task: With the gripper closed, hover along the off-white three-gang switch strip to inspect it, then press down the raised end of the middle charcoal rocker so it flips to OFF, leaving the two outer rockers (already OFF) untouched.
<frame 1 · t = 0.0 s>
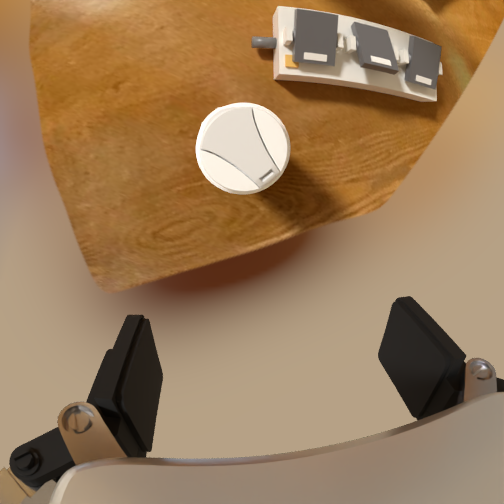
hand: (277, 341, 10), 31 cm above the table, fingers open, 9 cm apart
rocker mid: (374, 47, 27), point 6 cm above the table, hinge at -18.0°
strip: (355, 57, 33), on the table
rocker 1: (314, 37, 27), point 6 cm above the table, hinge at 18.0°, touching strip
rocker 2: (423, 62, 28), point 6 cm above the table, hinge at 18.0°
coffee cup: (236, 144, 37), on the table
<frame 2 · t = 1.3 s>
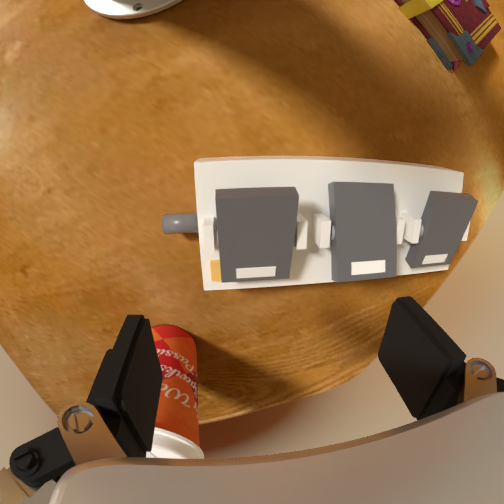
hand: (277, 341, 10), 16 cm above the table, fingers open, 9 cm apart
rocker mid: (363, 231, 21), point 6 cm above the table, hinge at -18.0°
strip: (336, 211, 26), on the table
rocker 1: (255, 236, 20), point 6 cm above the table, hinge at 18.0°, touching strip
rocker 2: (441, 230, 21), point 6 cm above the table, hinge at 18.0°
coffee cup: (169, 344, 30), on the table
decorative book: (427, 2, 18), on the table
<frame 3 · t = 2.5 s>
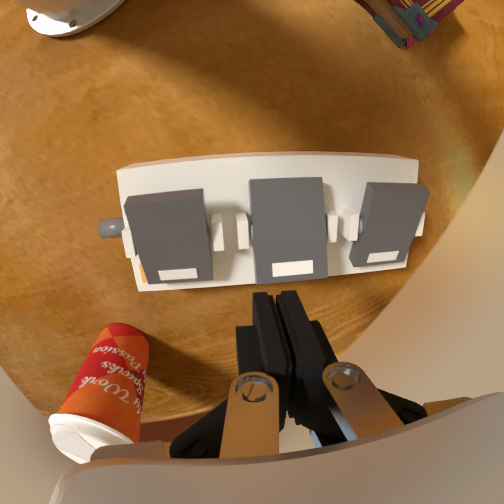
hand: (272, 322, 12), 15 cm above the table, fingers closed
rocker mid: (288, 229, 20), point 6 cm above the table, hinge at -18.0°
strip: (273, 208, 26), on the table
rocker 1: (172, 239, 20), point 6 cm above the table, hinge at 18.0°, touching strip
rocker 2: (387, 225, 21), point 6 cm above the table, hinge at 18.0°
coffee cup: (124, 342, 30), on the table
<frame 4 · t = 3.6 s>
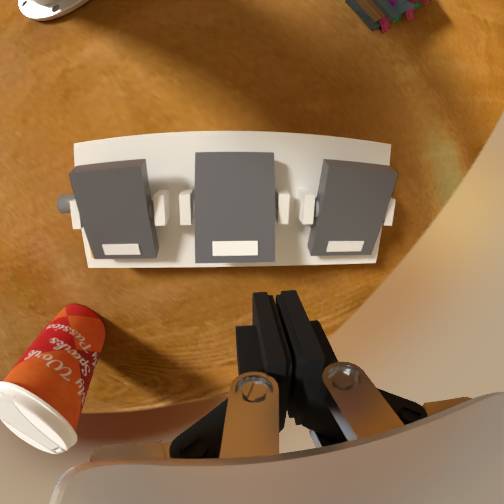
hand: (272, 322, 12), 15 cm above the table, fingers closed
rocker mid: (234, 207, 19), point 6 cm above the table, hinge at -18.0°
strip: (232, 191, 24), on the table
rocker 1: (116, 212, 18), point 6 cm above the table, hinge at 18.0°, touching strip
rocker 2: (350, 210, 20), point 6 cm above the table, hinge at 18.0°
coffee cup: (82, 324, 28), on the table
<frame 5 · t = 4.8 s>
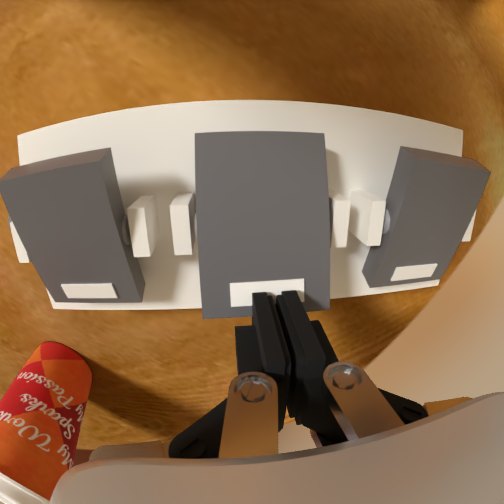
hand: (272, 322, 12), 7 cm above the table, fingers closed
rocker mid: (262, 222, 11), point 6 cm above the table, hinge at -17.6°, touching gripper
strip: (248, 193, 17), on the table
rocker 1: (74, 236, 11), point 6 cm above the table, hinge at 18.0°, touching strip
rocker 2: (426, 222, 12), point 6 cm above the table, hinge at 18.0°
coffee cup: (64, 364, 21), on the table
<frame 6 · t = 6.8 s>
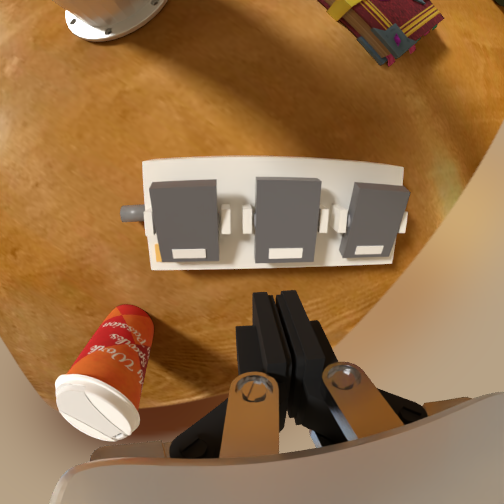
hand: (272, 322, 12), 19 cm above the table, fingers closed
rocker mid: (286, 220, 24), point 6 cm above the table, hinge at 5.7°
strip: (275, 205, 29), on the table
rocker 1: (186, 222, 23), point 6 cm above the table, hinge at 18.0°, touching strip
rocker 2: (373, 221, 24), point 6 cm above the table, hinge at 18.0°
coffee cup: (131, 323, 33), on the table
decorative book: (363, 1, 22), on the table
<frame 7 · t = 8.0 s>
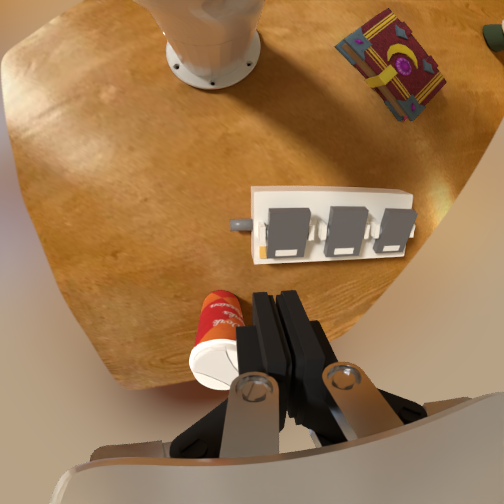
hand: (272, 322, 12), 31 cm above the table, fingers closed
rocker mid: (345, 231, 38), point 6 cm above the table, hinge at 10.6°
strip: (330, 218, 43), on the table
rocker 1: (287, 233, 37), point 6 cm above the table, hinge at 18.0°, touching strip
character mug: (488, 38, 31), on the table
rocker 2: (394, 231, 39), point 6 cm above the table, hinge at 18.0°
coffee cup: (220, 304, 47), on the table
decorative book: (389, 68, 35), on the table
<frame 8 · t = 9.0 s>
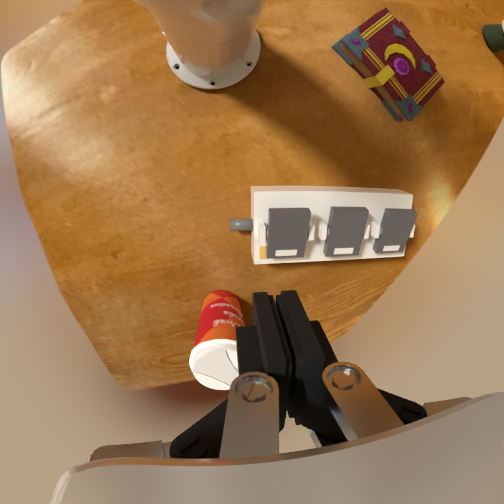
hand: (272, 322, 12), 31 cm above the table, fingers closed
rocker mid: (345, 231, 38), point 6 cm above the table, hinge at 12.8°
strip: (330, 218, 43), on the table
rocker 1: (287, 233, 37), point 6 cm above the table, hinge at 18.0°, touching strip
character mug: (488, 38, 31), on the table
rocker 2: (394, 230, 39), point 6 cm above the table, hinge at 18.0°
coffee cup: (220, 304, 47), on the table
decorative book: (387, 68, 35), on the table
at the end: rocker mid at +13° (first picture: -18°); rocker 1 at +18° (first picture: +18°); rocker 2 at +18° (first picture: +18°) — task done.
